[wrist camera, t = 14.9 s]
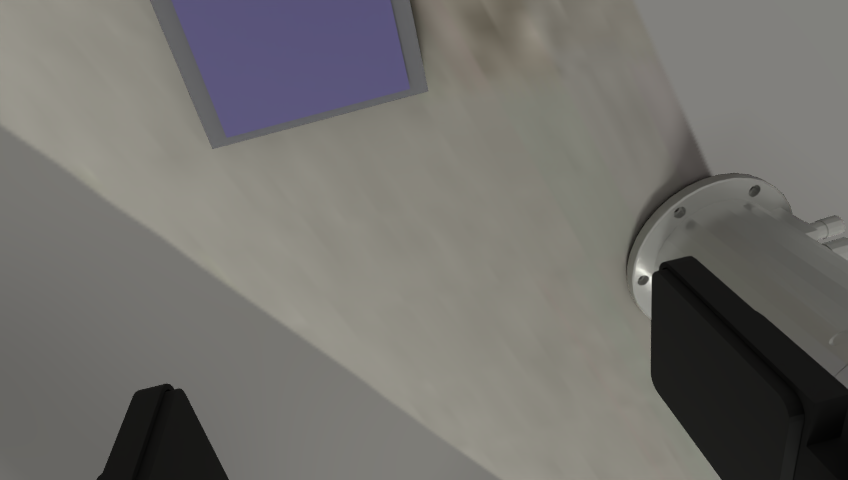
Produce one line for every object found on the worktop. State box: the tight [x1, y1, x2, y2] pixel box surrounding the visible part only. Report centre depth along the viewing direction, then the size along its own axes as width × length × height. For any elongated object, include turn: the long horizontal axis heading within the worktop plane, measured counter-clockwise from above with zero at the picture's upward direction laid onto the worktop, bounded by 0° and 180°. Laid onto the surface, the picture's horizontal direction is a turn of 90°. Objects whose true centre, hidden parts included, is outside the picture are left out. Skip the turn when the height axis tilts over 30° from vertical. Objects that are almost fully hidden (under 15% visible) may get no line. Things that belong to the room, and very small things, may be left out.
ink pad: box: [150, 0, 428, 149], centre depth 30 cm, size 12×9×2 cm
